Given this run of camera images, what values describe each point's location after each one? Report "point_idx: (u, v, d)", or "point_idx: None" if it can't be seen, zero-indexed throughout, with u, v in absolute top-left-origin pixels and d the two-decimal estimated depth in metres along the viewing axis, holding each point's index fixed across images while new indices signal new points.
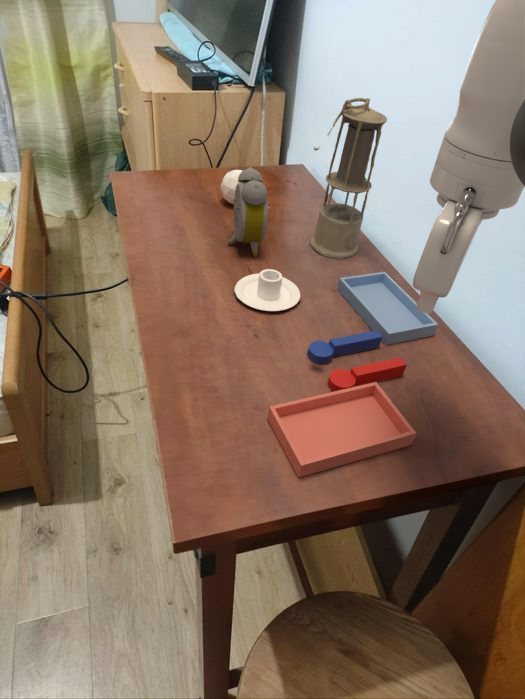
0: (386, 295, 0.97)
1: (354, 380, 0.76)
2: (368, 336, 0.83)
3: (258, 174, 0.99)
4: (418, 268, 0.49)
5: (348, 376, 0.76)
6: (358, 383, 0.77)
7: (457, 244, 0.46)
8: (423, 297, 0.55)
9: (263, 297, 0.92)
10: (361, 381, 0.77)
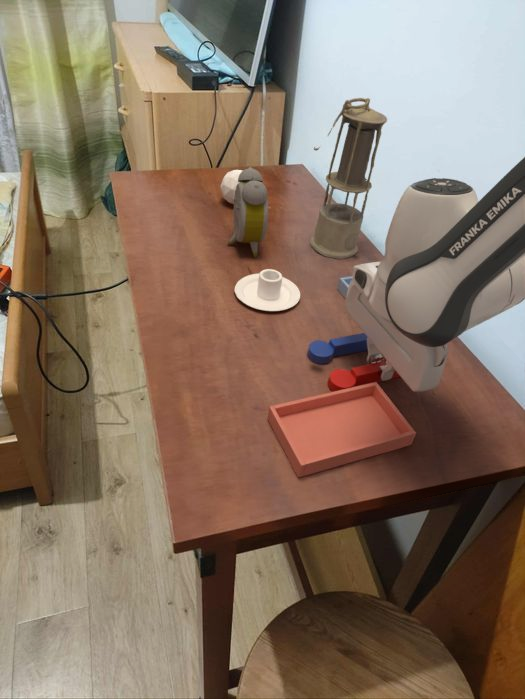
0: None
1: (354, 380, 0.76)
2: None
3: (258, 174, 0.99)
4: (421, 381, 0.66)
5: (348, 376, 0.76)
6: (358, 383, 0.77)
7: None
8: (386, 372, 0.75)
9: (263, 297, 0.92)
10: (361, 382, 0.77)
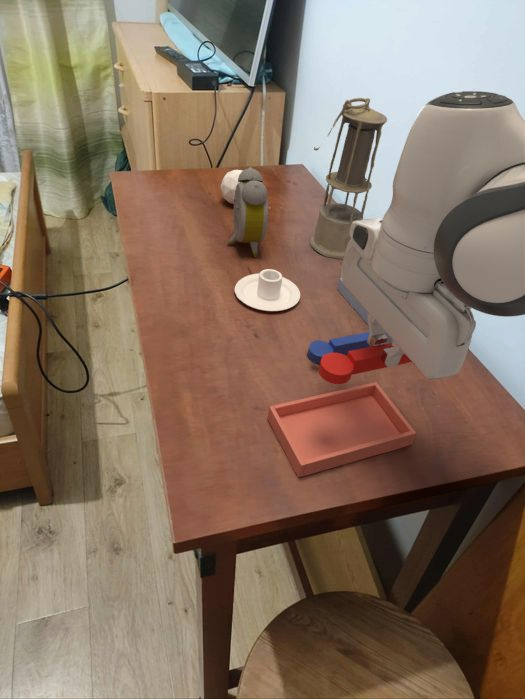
0: None
1: (352, 366, 0.61)
2: (368, 336, 0.83)
3: (258, 174, 0.99)
4: (438, 366, 0.51)
5: (344, 361, 0.61)
6: (357, 370, 0.62)
7: None
8: (392, 356, 0.60)
9: (263, 297, 0.92)
10: (361, 368, 0.62)
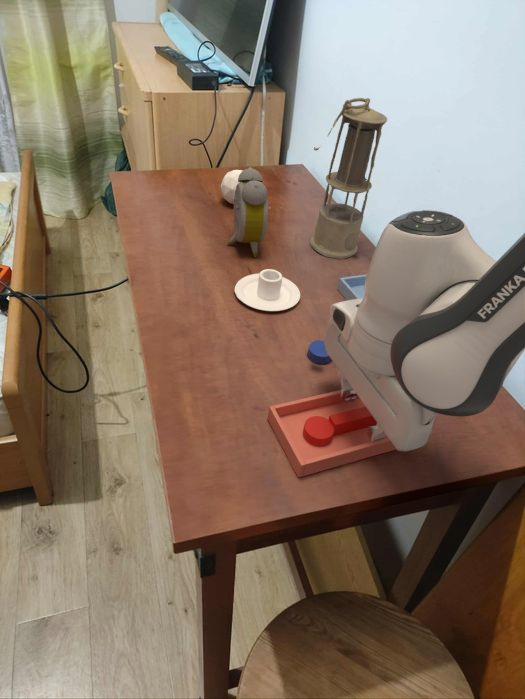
0: None
1: (332, 430, 0.67)
2: None
3: (258, 174, 0.99)
4: (406, 441, 0.58)
5: (326, 425, 0.68)
6: (337, 432, 0.68)
7: None
8: (377, 434, 0.66)
9: (263, 297, 0.92)
10: (341, 430, 0.68)
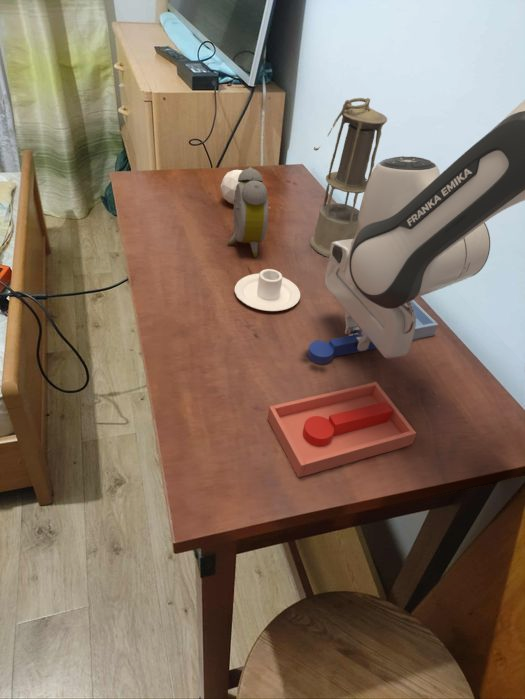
0: None
1: (332, 430, 0.67)
2: None
3: (258, 174, 0.99)
4: (392, 348, 0.71)
5: (326, 425, 0.68)
6: (337, 432, 0.68)
7: None
8: (362, 342, 0.80)
9: (263, 297, 0.92)
10: (341, 430, 0.68)
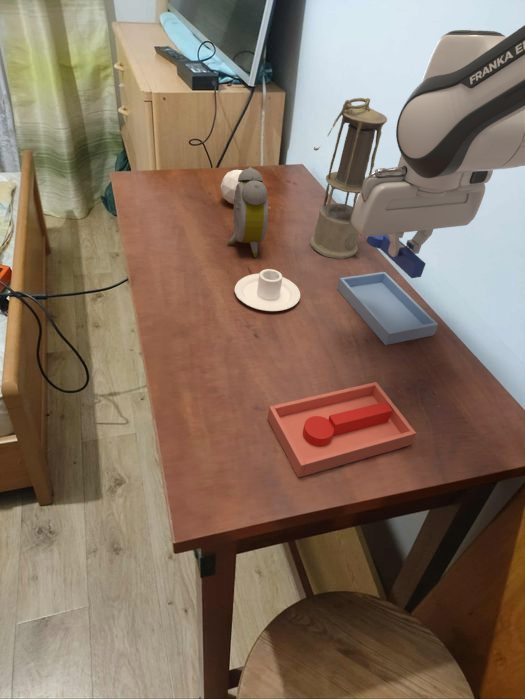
0: (386, 295, 0.97)
1: (332, 430, 0.67)
2: (410, 256, 0.77)
3: (258, 174, 0.99)
4: None
5: (326, 425, 0.68)
6: (337, 432, 0.68)
7: (371, 196, 0.68)
8: (391, 243, 0.77)
9: (263, 297, 0.92)
10: (341, 430, 0.68)
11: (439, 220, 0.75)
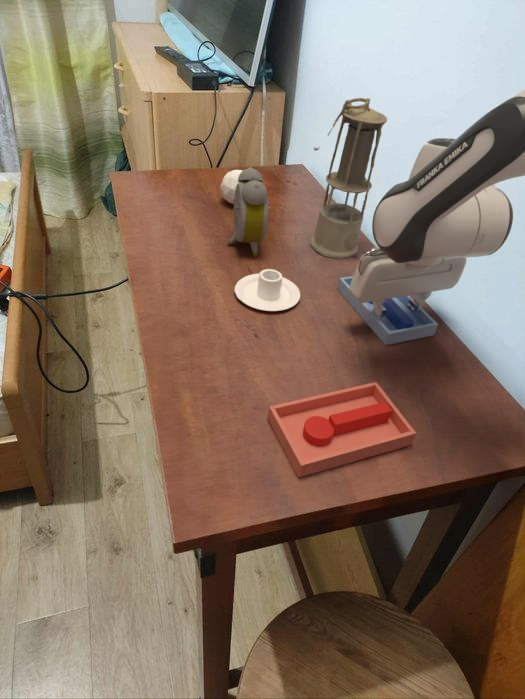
0: None
1: (332, 430, 0.67)
2: (401, 315, 0.88)
3: (258, 174, 0.99)
4: None
5: (326, 425, 0.68)
6: (337, 432, 0.68)
7: (366, 270, 0.79)
8: (375, 306, 0.88)
9: (263, 297, 0.92)
10: (341, 430, 0.68)
11: (426, 286, 0.86)
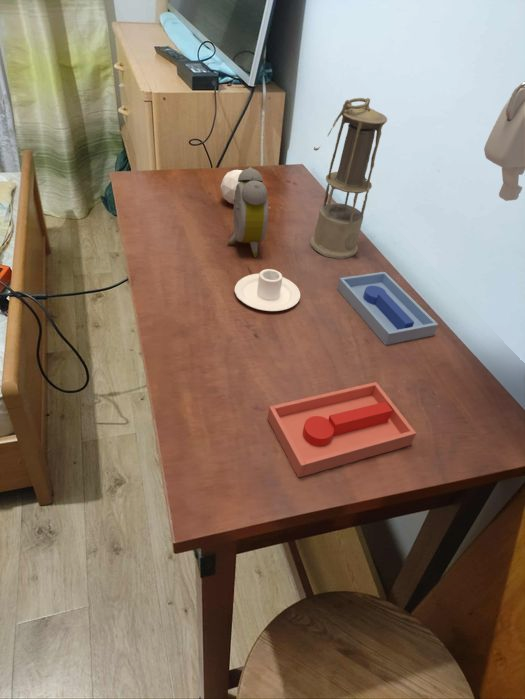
0: None
1: (332, 430, 0.67)
2: (401, 315, 0.88)
3: (258, 174, 0.99)
4: (489, 135, 0.58)
5: (326, 425, 0.68)
6: (337, 432, 0.68)
7: (520, 112, 0.54)
8: (505, 183, 0.62)
9: (263, 297, 0.92)
10: (341, 430, 0.68)
11: None
